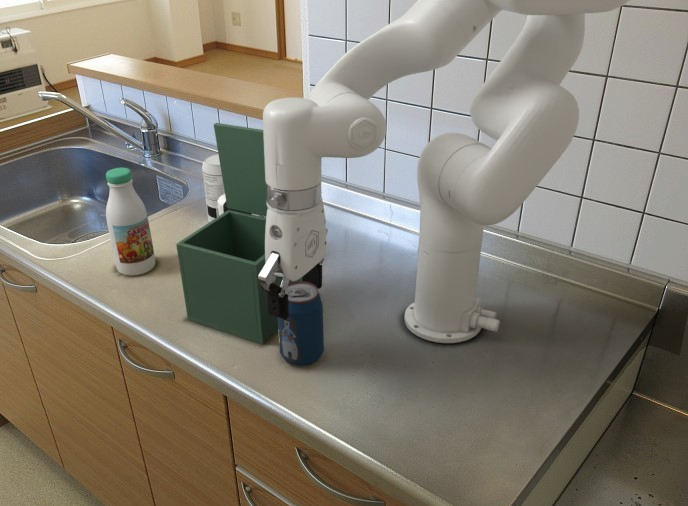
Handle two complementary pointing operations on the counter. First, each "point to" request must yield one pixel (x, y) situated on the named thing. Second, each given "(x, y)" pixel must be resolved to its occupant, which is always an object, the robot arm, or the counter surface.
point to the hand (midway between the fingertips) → (296, 300)
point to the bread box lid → (242, 167)
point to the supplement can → (212, 184)
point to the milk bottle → (128, 225)
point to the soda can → (302, 326)
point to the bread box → (228, 276)
